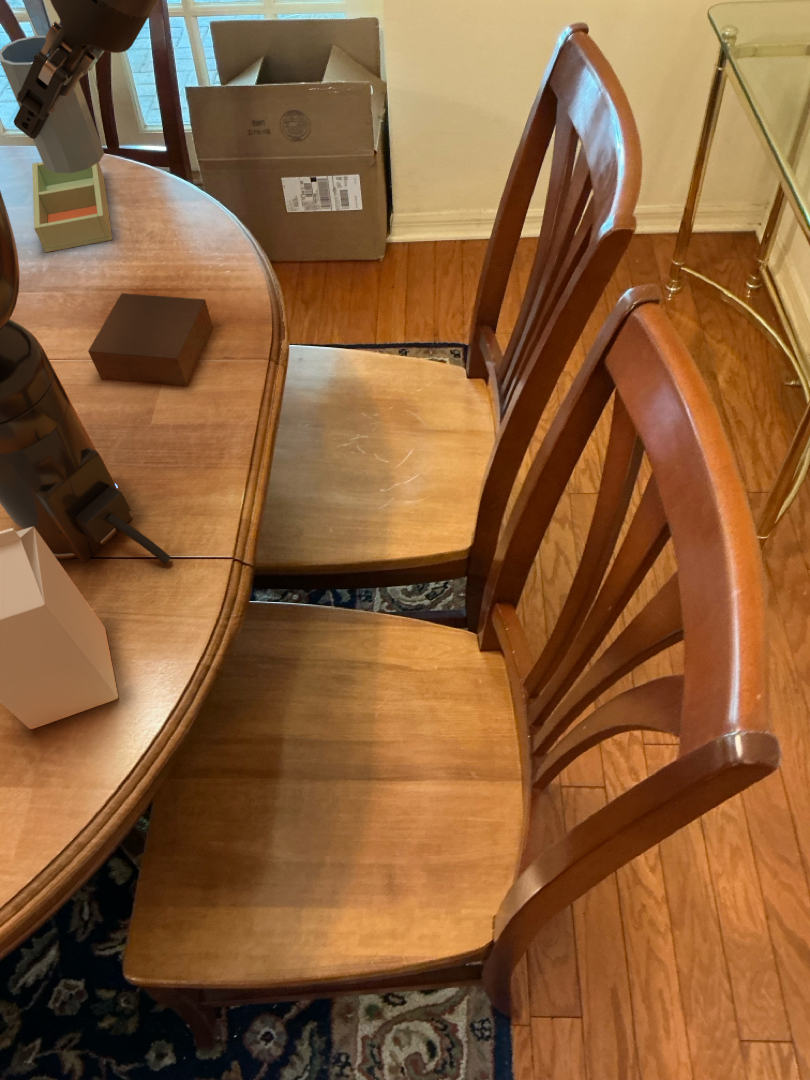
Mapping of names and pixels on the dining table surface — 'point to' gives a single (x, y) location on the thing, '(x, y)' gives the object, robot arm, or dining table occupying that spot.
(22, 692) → the milk carton
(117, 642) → the dining table surface
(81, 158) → the cup
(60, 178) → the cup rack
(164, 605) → the dining table surface
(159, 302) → the brown square block
